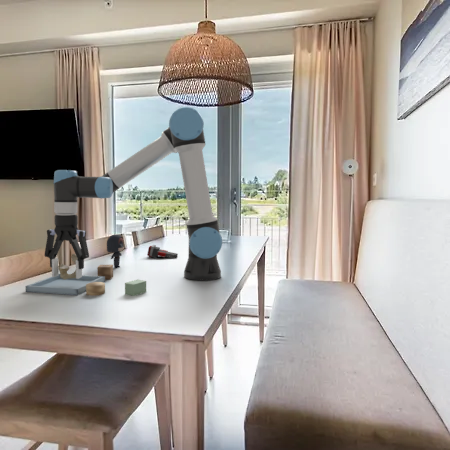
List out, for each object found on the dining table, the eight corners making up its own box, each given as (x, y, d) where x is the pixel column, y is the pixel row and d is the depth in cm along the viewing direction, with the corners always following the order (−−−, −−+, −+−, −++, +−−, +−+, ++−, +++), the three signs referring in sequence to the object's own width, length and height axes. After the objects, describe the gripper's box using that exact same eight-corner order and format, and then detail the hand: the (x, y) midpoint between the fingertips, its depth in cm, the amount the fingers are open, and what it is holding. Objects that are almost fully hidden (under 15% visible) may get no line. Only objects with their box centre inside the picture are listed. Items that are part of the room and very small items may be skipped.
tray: (104, 281, 140) (104, 276, 140) (77, 295, 122) (77, 289, 122) (59, 279, 143) (58, 273, 143) (25, 291, 125) (25, 286, 124)
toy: (118, 269, 161) (118, 236, 160) (102, 268, 163) (102, 235, 162) (128, 266, 170) (128, 233, 169) (112, 265, 172) (112, 233, 171)
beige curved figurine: (47, 275, 129) (58, 249, 133) (57, 281, 135) (68, 255, 139) (67, 278, 127) (78, 252, 131) (77, 284, 132) (87, 258, 137)
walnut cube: (113, 276, 149) (112, 264, 149) (110, 279, 144) (110, 267, 144) (100, 276, 148) (100, 264, 148) (97, 279, 143) (97, 267, 143)
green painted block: (146, 292, 127) (146, 280, 127) (133, 296, 122) (133, 284, 122) (137, 290, 129) (137, 279, 129) (125, 294, 124) (124, 282, 124)
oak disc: (101, 289, 129) (101, 280, 128) (107, 293, 124) (107, 285, 123) (84, 292, 125) (83, 283, 125) (89, 297, 120) (89, 288, 120)
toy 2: (176, 260, 199) (149, 255, 199) (178, 249, 199) (151, 243, 198) (174, 264, 190) (146, 258, 190) (176, 252, 190) (148, 246, 190)
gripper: (99, 214, 132) (100, 276, 134) (45, 212, 135) (46, 273, 137) (88, 215, 125) (89, 281, 127) (31, 213, 128) (33, 277, 130)
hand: (67, 277), depth 132 cm, fingers closed on beige curved figurine, 8 cm apart
